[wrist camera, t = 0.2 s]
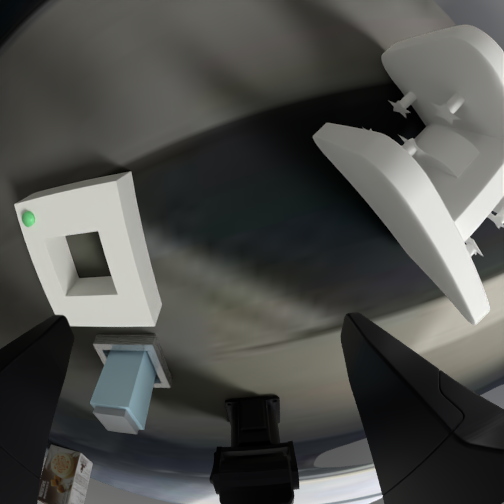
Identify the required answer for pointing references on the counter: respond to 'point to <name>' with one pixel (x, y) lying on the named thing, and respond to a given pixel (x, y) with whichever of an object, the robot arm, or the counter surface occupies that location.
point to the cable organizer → (436, 156)
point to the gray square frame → (136, 343)
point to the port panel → (114, 245)
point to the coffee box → (64, 477)
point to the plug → (124, 391)
